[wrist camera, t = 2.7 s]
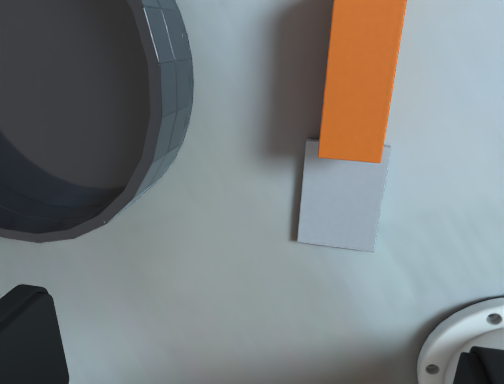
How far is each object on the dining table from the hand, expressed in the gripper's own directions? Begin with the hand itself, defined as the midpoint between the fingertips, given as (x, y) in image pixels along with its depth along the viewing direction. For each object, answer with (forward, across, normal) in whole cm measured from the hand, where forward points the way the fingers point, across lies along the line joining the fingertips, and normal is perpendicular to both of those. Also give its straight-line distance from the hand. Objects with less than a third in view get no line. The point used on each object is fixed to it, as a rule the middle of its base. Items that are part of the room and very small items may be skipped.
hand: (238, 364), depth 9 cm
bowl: (+18, +17, -4) cm, 25 cm away
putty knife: (+18, -3, -2) cm, 18 cm away
